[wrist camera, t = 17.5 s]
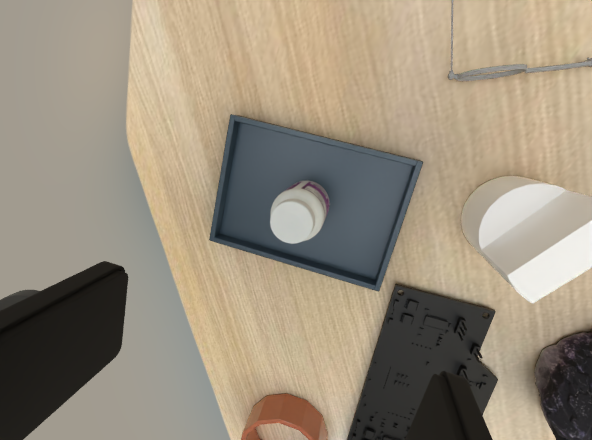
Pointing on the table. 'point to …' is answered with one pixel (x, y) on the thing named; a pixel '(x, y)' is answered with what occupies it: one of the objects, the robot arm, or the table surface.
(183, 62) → the table surface
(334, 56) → the table surface
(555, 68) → the eyeglasses
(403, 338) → the circuit board
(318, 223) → the pill bottle
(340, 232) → the tray
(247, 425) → the terracotta faceted ring
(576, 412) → the crystal cluster
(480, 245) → the base with upright slab
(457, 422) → the robot arm
